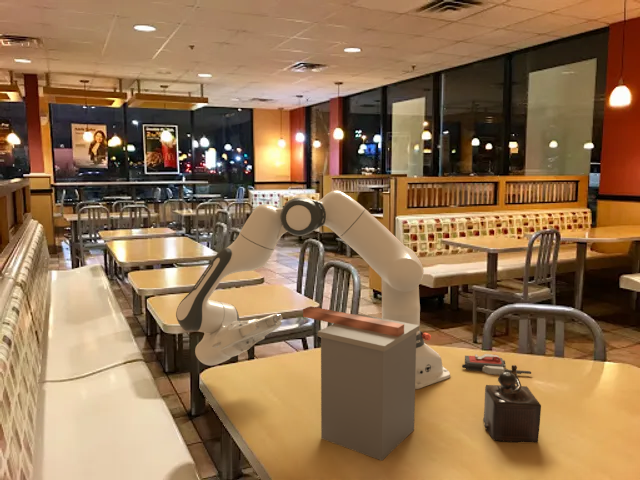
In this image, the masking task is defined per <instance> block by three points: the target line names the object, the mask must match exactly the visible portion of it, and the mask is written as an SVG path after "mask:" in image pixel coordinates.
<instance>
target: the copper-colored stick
mask: <svg viewBox="0 0 640 480" xmlns="http://www.w3.org/2000/svg"><path fill="white" fill-rule="evenodd" d="M302 317H303V318H307V319H311V320H315V321H320V322H326V323H331V324H340V325H345V326H349V327H354V328H359V329H364V330H369V331H373V332H378V333H383V334H388V335H393V336H397V337H398V336H400V335H401V334H403V333H404V324H400V323H395V322H389V321H384V320H379V319H374V318H369V317H363V316H358V315H355V314H353V313H347V312H341V311H337V310H331V309H327V308H320V307H315V306H307V307H305V308H302Z"/></svg>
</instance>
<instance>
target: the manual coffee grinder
mask: <svg viewBox="0 0 640 480" xmlns="http://www.w3.org/2000/svg"><path fill="white" fill-rule="evenodd" d="M510 370H511V373H510V372H503V373H500V375H498V378H497V382H499V384H500V385H499V384H486V385H485V387H484V408H483V419H482V421H483V423H484V428H485V430H486V432H488V434H489V435H490V437H491V438H492V439H493V440H494V441H496V442H502V443H518V442H534V443H538V442H539V433H540V423H541V415H542V414H541V412H542V404H541V403H540V401H538V399H537V397H536V396H535V395H534V394H533V393H532V391H531V390H530V389H529V388H528V386H527V385H526V386H525V385H522V384H521V381H520V378H519V376H518V374H517V371H516V370H518V366H517V365H515V364H512V365H511V369H510Z"/></svg>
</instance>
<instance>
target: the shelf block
mask: <svg viewBox="0 0 640 480" xmlns="http://www.w3.org/2000/svg"><path fill="white" fill-rule="evenodd" d="M354 315H358V316H363V317H369V318H374V319H379V320H384V321H389V322H395V323H400V324H404V333H403V334H401V335H400V336H398V337H397V336H393V335H388V334H383V333H378V332H373V331H369V330H364V329H359V328H354V327H349V326H345V325H340V324H335V323H332V324H331V325H328V326H327V327H324V328H322V329H319V330H317V337H319V338H320V386H321V387H320V389H321V391H320V399H321V400H320V401H321V402H320V405H321V406H320V407H321V408H320V413H321V415H320V418H321V419H320V420H321V421H320V422H321V426H320V427H321V429H320V431H321V432H320V435H321V439H322V440H324V441H327V442H330V443H332V444H335V445H338V446H341V447H344V448H346V449H349V450H352V451H353V452H357V453H360V454H363V455H365V456H368V457H371V458H374V459H377V460H379V461H383V460H384V459H385V458H386V457H388V455H389V454H391V453H392V452H393V451H394V449H396V448H397V447H398V446H399V445H400V444H401V443H403V442H404V440H406V438H407V437H408V436H410V434H411V433H413V431H415V408H416V407H415V406H416V389H415V371H416V332H418V331H420V324H419V325H414V324H409V323H404V322H399V321H393V320H388V319H383V318H382V317H378V316H372V315H368V314H367V315H366V314H360V313H355V314H354Z"/></svg>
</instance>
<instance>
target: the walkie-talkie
mask: <svg viewBox="0 0 640 480" xmlns="http://www.w3.org/2000/svg"><path fill="white" fill-rule="evenodd" d="M461 367H462V368H463V369H465V370H467V371H474V372H475V371H476V372H483V373H485V374H489V375H496V376H497V375H498V376H499V375H500V373H503V372H510V373H511V370H512V369H507V368H506V367H507V364H506V360H505V359H503V358H502V357H500V355H499V354H491V353H484V354H482V355H480V356H479V355H478V354H477V353H476V354H474V355H464V363H463V364H462V365H461ZM516 371H517V375H522V374H525V375H526V374H527V375H531V374H532V372H531V371H529V370H520V369H519V370H518V369H517V370H516Z"/></svg>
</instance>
